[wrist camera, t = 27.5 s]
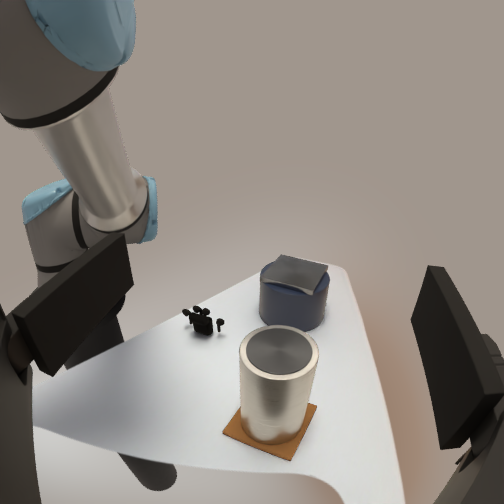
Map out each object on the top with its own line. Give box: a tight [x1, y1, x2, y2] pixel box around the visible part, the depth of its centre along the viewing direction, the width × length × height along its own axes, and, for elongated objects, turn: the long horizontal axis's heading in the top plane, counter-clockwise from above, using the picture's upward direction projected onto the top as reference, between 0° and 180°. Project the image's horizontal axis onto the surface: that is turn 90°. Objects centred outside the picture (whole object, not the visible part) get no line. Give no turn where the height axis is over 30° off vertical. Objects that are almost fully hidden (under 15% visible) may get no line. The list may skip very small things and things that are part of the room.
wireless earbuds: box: [182, 306, 224, 335], centre depth 46 cm, size 7×2×5 cm, turn 70°
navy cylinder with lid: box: [259, 255, 330, 332], centre depth 51 cm, size 11×11×8 cm
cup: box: [239, 325, 319, 445], centre depth 30 cm, size 7×7×12 cm
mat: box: [223, 403, 317, 461], centre depth 33 cm, size 8×8×1 cm
